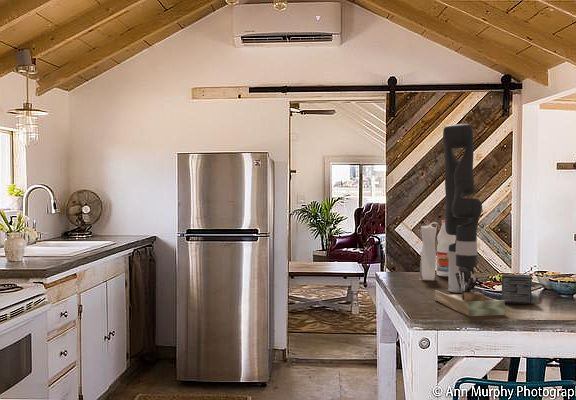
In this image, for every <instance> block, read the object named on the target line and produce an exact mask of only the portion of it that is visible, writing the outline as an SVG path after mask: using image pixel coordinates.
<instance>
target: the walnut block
mask: <svg viewBox="0 0 576 400" xmlns="http://www.w3.org/2000/svg"><path fill="white" fill-rule="evenodd" d="M484 296H485V294H484V293H482V292H480V291H473V292H464V301H465V302H468V301H484Z"/></svg>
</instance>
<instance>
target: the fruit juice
mask: <svg viewBox="0 0 576 400" xmlns="http://www.w3.org/2000/svg"><path fill="white" fill-rule="evenodd" d="M440 227H441V228H440V229H439V231H438V233H437V234H436V240H437V246H436V275H437V276H438V277H439V276H440V277H448V272H449V245H450V244H452V243H455V242H456V241H457V235H449V234H447V232H446V229H445V219H441V226H440Z"/></svg>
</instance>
